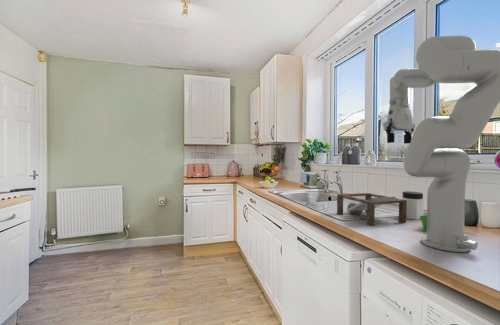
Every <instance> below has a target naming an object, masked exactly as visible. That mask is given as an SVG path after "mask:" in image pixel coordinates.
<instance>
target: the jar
mask: <svg viewBox="0 0 500 325" xmlns="http://www.w3.org/2000/svg"><path fill="white" fill-rule="evenodd" d="M401 199H403V200H407V210H406V220H407V219H408V220H416V221H417V220H421V219H420V216H423V215H425V214H424V212H425V211H424V210H425V199H424V193H423V192H420V191H412V190H411V191H409V190H408V191H407V190H406V191H405V190H404V191H402V196H401Z"/></svg>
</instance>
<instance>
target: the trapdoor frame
mask: <svg viewBox="0 0 500 325" xmlns="http://www.w3.org/2000/svg"><path fill="white" fill-rule="evenodd" d="M364 196H365V199H363V198H359V197H364ZM378 197H388V196H387V195H381V194H377V193H372V192H371V193H370V192H361V193H359V192H358V193H342V194H341V193H340V194H338V193H337V195H336V200H337V202H336V214H337V215H338V216H343V215H344V199H346V200H351V201H355V202H359V203H361V202H362V203H366V204H367V210H364V213H366V225H367V226H369V227H375V214H376V213H375V209H376V208H375V204H383V205H385V204H398V223H400V224H407V218H406V210H407V200H403V199H402V198H397V197H396V200H383V201H368V199H370V198H378Z"/></svg>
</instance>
